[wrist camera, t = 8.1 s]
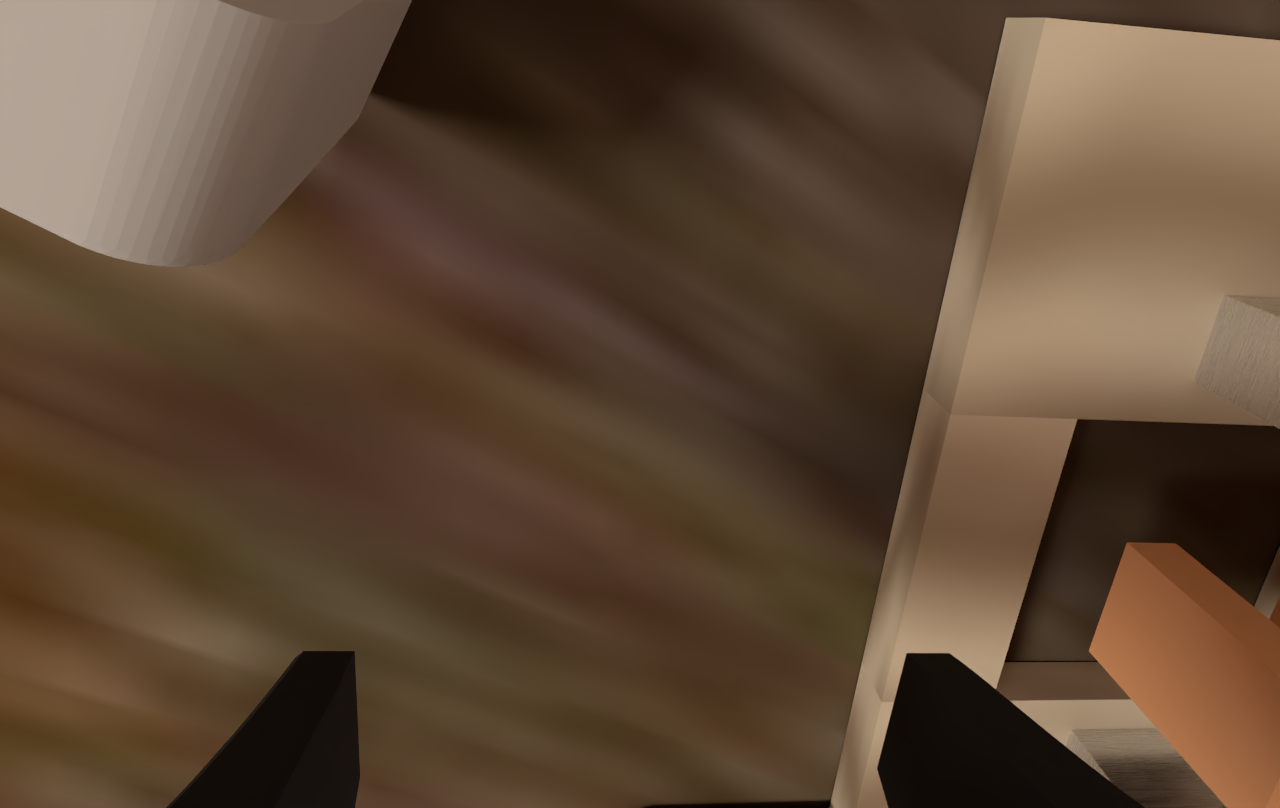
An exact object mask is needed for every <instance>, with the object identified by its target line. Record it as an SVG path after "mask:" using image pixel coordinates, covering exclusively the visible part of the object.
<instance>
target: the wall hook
mask: <svg viewBox="0 0 1280 808" xmlns="http://www.w3.org/2000/svg"><path fill="white" fill-rule="evenodd" d="M411 2H412V0H0V207H1V208H3V209H5V210H7V211H9V212H11V213H13V214H15V215H17V216H20V217H22V218H24V219H26V220H28V221H30V222H32V223H34V224H36V225H38V226H40V227H42V228H44V229H46V230H48V231H50V232H52V233H55V234H57V235H59V236H61V237H63V238H65V239H67V240H69V241H71V242H73V243H75V244H77V245H79V246H82V247H85V248H87V249H90V250H93V251H95V252H98V253H101V254H104V255H108V256H111V257H114V258H118V259H122V260H127V261H131V262H135V263H141V264H148V265H155V266H170V267H188V266H198V265H206V264H209V263H213V262H217V261H220V260H222V259H224V258H226V257H229V256H231V255H233V254H234V253H235V252H236V251H237V250H239V249H240V248H241V247H242V246H243V245H244V244H245V243H246V241H247V240H248V239H249V238H250V237H251V236H252V235H253V234H254V233H255V232H256V231H257V230H258V229H259V228H260V226H261V225H262V224H263V223H264V222H265V221H266V220H267V219H268V218H269V217H270V216H271V215H272V214H273V213H274V211H275V210H276V209H277V208H278V207H279V206H280V205H281V204H282V203H283V202H284V201H285V200H286V199H287V197H288V196H289V195H290V194H291V193H292V192H293V191H294V190H295V189H296V187H297V186H298V185H299V184H300V183H301V182H302V181H303V180H304V179H305V177H306V176H307V175H308V174H309V173H310V172H311V171H312V170H313V169H314V167H315V166H316V165H317V164H318V163H319V162H320V161H321V160H322V159H323V157H324V156H325V155H326V154H327V153H328V152H329V151H330V150H331V148H332V147H333V146H334V145H335V144H336V143H337V142H338V141H339V140H340V138H341V137H342V136H343V135H344V134H345V133H346V132H347V131H348V130H349V128H350V127H351V126H352V125H353V124H354V123H355V122H356V121H357V119H358V117H359V115H360V114H361V111H362V109H363V107H364V105H365V103H366V100H367V98H368V96H369V94H370V92H371V90H372V87H373V85H374V83H375V81H376V79H377V76H378V74H379V72H380V70H381V68H382V65H383V63H384V61H385V59H386V57H387V54H388V52H389V50H390V48H391V46H392V43H393V41H394V39H395V37H396V35H397V32H398V30H399V28H400V26H401V24H402V21H403V19H404V17H405V15H406V13H407V10H408V8H409V6H410V4H411Z"/></svg>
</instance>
